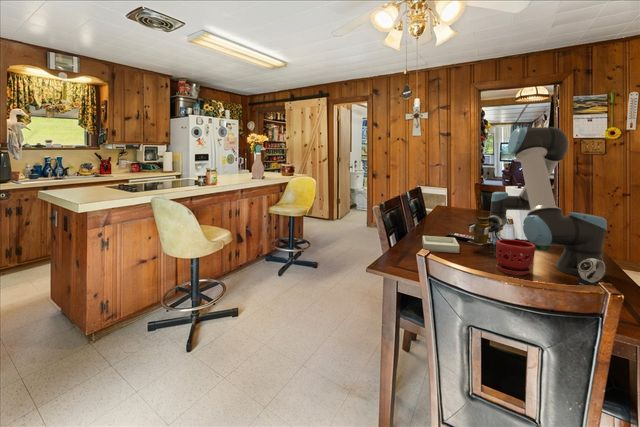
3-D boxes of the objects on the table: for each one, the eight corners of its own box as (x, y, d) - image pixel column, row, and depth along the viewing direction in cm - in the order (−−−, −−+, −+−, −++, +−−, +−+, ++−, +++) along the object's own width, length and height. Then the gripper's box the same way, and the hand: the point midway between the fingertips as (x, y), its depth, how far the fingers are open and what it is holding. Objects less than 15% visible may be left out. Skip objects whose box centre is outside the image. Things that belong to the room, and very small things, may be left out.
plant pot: (538, 278, 119) (542, 248, 117) (500, 276, 122) (504, 246, 119) (522, 266, 132) (526, 238, 130) (489, 264, 134) (491, 237, 132)
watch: (571, 287, 111) (576, 257, 109) (591, 285, 113) (596, 256, 111) (586, 293, 106) (591, 262, 104) (607, 292, 107) (612, 261, 105)
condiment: (491, 242, 152) (493, 218, 150) (481, 245, 147) (483, 220, 145) (476, 239, 158) (478, 216, 156) (466, 241, 154) (468, 217, 152)
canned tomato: (543, 246, 160) (546, 225, 158) (553, 251, 153) (556, 229, 151) (527, 246, 161) (529, 225, 159) (536, 251, 153) (538, 229, 151)
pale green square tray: (458, 253, 150) (459, 246, 149) (423, 250, 154) (424, 243, 154) (454, 244, 165) (454, 237, 165) (422, 242, 169) (422, 235, 169)
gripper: (512, 233, 159) (499, 242, 142) (472, 227, 171) (456, 235, 155) (513, 218, 157) (501, 225, 141) (473, 214, 170) (457, 220, 154)
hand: (477, 230), depth 148 cm, fingers closed on condiment, 6 cm apart
